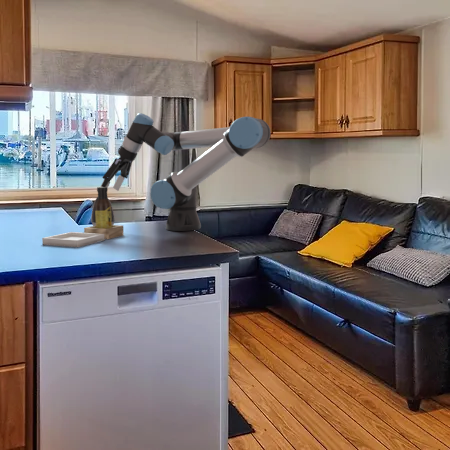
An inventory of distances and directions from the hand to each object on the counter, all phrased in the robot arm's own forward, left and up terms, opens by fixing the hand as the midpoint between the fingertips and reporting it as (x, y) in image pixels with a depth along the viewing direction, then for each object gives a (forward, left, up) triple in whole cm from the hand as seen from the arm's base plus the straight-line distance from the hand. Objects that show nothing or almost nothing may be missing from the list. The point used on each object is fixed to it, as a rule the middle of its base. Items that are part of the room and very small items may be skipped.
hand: (108, 191), depth 231 cm
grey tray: (-6, +31, -17) cm, 36 cm away
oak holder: (-8, +15, -17) cm, 24 cm away
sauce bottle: (-8, +15, -17) cm, 24 cm away
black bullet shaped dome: (+5, -2, -17) cm, 18 cm away
